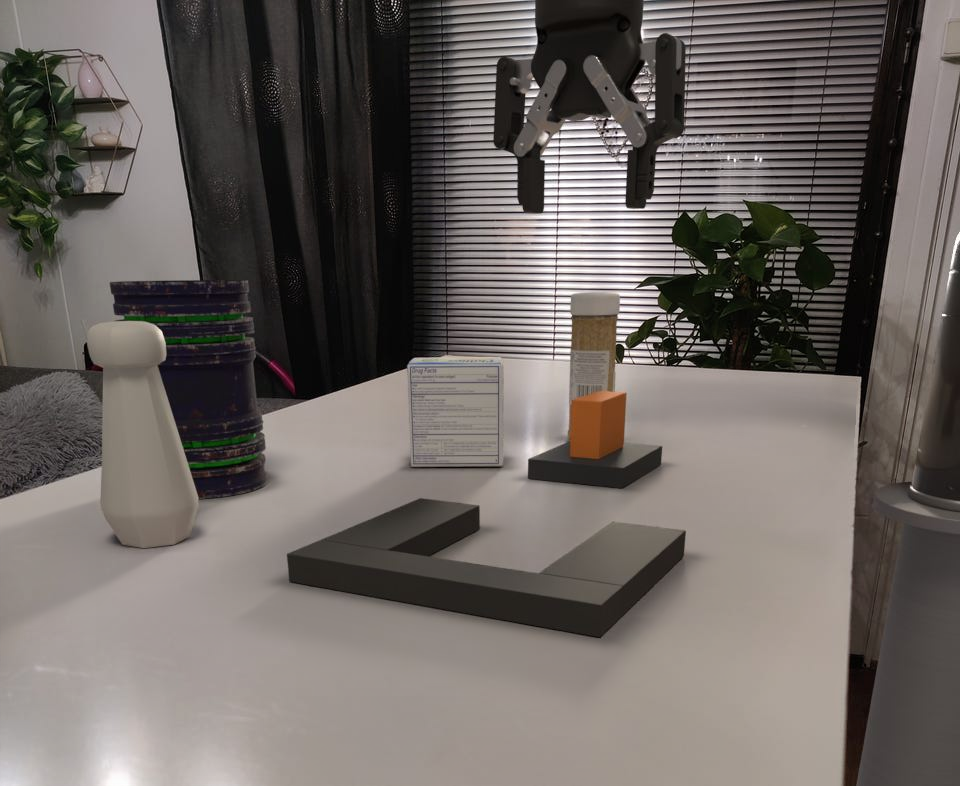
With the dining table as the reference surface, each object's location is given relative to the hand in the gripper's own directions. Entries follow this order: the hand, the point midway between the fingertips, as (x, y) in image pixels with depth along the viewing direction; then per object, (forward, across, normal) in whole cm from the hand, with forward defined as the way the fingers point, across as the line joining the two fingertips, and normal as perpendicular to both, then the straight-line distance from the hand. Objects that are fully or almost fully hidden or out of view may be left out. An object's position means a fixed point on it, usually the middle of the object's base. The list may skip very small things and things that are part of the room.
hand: (582, 211), depth 68 cm
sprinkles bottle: (+20, +6, -14) cm, 25 cm away
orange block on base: (+20, -2, -1) cm, 20 cm away
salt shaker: (+20, +14, +32) cm, 40 cm away
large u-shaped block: (+20, -8, +26) cm, 33 cm away
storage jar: (+20, +23, +20) cm, 36 cm away
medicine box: (+20, +10, +2) cm, 22 cm away
